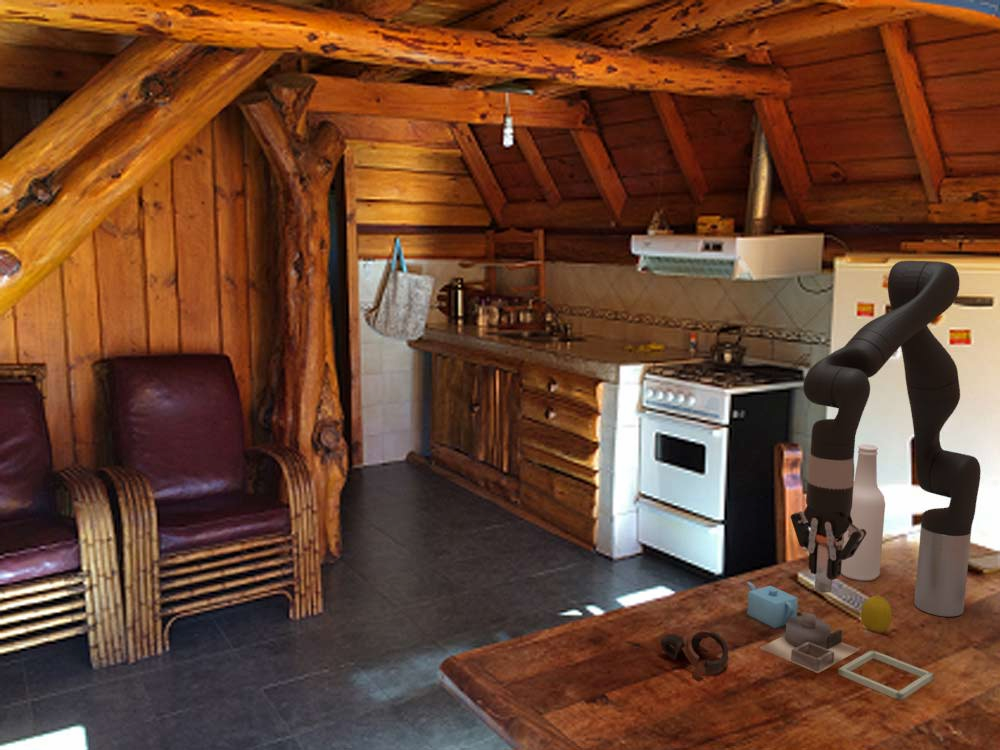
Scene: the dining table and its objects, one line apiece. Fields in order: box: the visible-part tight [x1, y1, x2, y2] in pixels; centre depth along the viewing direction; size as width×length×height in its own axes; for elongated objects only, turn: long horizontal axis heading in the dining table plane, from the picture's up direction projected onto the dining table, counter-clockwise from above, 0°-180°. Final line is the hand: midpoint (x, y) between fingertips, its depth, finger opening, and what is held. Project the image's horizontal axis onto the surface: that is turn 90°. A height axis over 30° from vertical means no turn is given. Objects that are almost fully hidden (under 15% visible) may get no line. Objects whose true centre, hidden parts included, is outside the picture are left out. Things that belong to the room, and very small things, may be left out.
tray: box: [837, 649, 935, 702], centre depth 155 cm, size 11×11×2 cm
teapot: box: [746, 581, 799, 629], centre depth 178 cm, size 12×6×8 cm, turn 31°
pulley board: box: [759, 612, 861, 674], centre depth 165 cm, size 14×12×6 cm
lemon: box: [860, 594, 893, 634], centre depth 173 cm, size 6×6×8 cm
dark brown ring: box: [659, 628, 729, 682], centre depth 160 cm, size 12×10×8 cm
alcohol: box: [840, 443, 886, 582], centre depth 201 cm, size 9×9×30 cm
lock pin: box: [814, 534, 838, 594], centre depth 157 cm, size 4×4×10 cm
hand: (824, 575), depth 157 cm, fingers closed on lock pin, 2 cm apart
